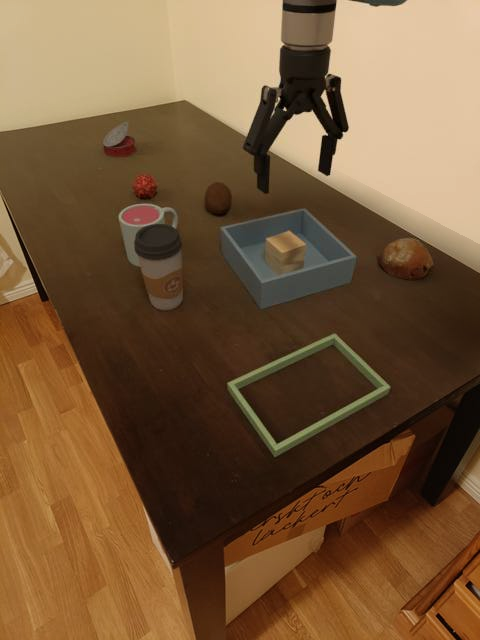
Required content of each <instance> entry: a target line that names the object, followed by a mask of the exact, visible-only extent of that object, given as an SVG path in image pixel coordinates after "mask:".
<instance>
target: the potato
mask: <svg viewBox="0 0 480 640" xmlns="http://www.w3.org/2000/svg"><path fill="white" fill-rule="evenodd" d="M232 200H233V195H232V191H231V189H230V188H229V186H228V185H226V184H225V183H223V182H218V181H215V182H213V183H211V184H209V185H208V186H207V188H206V190H205V193H204V203H205V206H206V208H207V210H208V211H209V212H211V213H212V214H214V215H223V214H224V213H226V212H227V211H228V209H230V206H231V204H232Z"/></svg>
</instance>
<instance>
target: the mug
mask: <svg viewBox="0 0 480 640" xmlns="http://www.w3.org/2000/svg"><path fill="white" fill-rule="evenodd" d="M167 213H168V214H170V215H171V216H172V225H171V226H172V227H174V228H175V229H176V230H177V228H178V224H179V216H178V214H177V212H176V210H175V209H174V208H172V207H169V206H164V207H160V206H159V205H157V204H154V203H153V204H152V203H136V204H132V205H129V206H126V207H125V208H124V209H122V210H121V211H120V212H119V214H118V221H119V225H120V230H121V234H122V239H123V244H124V248H125V254H126V257H127V261H128V262H129V263H130V264H131V265H133V266H135V267H139V268H141V266H140V263H139V259H138V256H137V253H136V252H135V249H134V247H135V246H134V241H135V236H136V233H137V232H138V231H139V230H140V229H141V228H143V227H145V226H149V225H153V224H166V218H165V214H167Z"/></svg>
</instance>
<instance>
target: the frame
mask: <svg viewBox="0 0 480 640" xmlns="http://www.w3.org/2000/svg"><path fill="white" fill-rule="evenodd" d="M330 346H334V348H336V349H337V350H338V352H340V354H342V355H343V356H344V357H345V359H347V361H349V362H350V363H351V364H352V365H353V366H354V367H355V368H356V370H358V371H359V372H360V373H361V374H362V375H363V376H364V377H365V378H366V379H367V380H368V381H369V382H370V383H371V384H372V385H373V386H374V387H375V390H373V391H372V392H369V393H368V394H366V395H364V396H362V397H360V398H358V399H357V400H355V401H353V402H352V403H350V404H348V405H346V406H344V407H341V408H340V409H338V410H337V411H335V412H333V413H331V414H329V415H328V416H326V417H324V418H322V419H321V420H319V421H317V422H315V423H313V424H311V425H309V426H308V427H306V428H304V429H302V430H300V431H298V432H296V433H295V434H293V435H291V436H289V437H287V438H286V439H284V440H282V441H280V442H278V443H277V442H276V440H275V439H274V438H273V436H272V435H271V434H270V432H269V431H268V430H267V428H266V427H265V425H264V424H263V423H262V421H261V419H260V418H259V417H258V415H257V414H256V412H255V411H254V410H253V408H252V407H251V406H250V404H249V402H247V400H246V398H245V397H244V396H243V394H242V393H241V392H240V389H242V388H244V387H246V386H248V385H250V384H253V383H254V382H256V381H258V380H261V379H263V378H265V377H267V376H269V375H272V374H273V373H275V372H278V371H280V370H282V369H285V368H286V367H288V366H290V365H293V364H294V363H295V364H296V362H299V361H301V360H303V359H305V358H307V357H309V356H311V355H314V354H316V353H318V352H321V351H322V350H324V349H327V348H329V347H330ZM391 389H392V388H391V386H390V385H389V384H388V382H386V381H385V380H384V379H383V378H382V377H381V376H380V375H379V374H378V373H377V372H376V371H375V370H374V369H372V367H371V366H370V365H369V364H367V362H366V361H365V360H363V358H362V357H360V356H359V355H358V354H357V353H356V352H355V351H354V350H353V349H352V348H351V347H350V346H349V345H348V344H346V342H345V341H343V339H341V338H340V337H339V335H337V333H335V332H334V333H332V334H329V335H327V336H326V337H323V338H321V339H319V340H317V341H314V342H313V343H310V344H309V345H306V346H304V347H302V348H299V349H298V350H296V351H293V352H291V353H289V354H287V355H285V356H282V357H281V358H278V359H276V360H274V361H271V362H269V363H268V364H265V365H263V366H261V367H259V368H257V369H254V370H252V371H250V372H248V373H246V374H243V375H241V376H239V377H237V378H235V379H233V380H231V381H229V382H227V391H228V393H229V394H230V395H231V397H232V399H233V400H234V401H235V403H236V404H237V405H238V407H239V408H240V410H241V411H242V413H243V414H244V416H245V417H246V418H247V420H248V421H249V424H251V425H252V427H253V429H254V430H255V432H256V433H257V434H258V436H259V437H260V439H261V440H262V441H263V443H264V444H265V446H266V447H267V449H268V450H269V451H270V453H271V454H272V456H273V457H274V458H276V457H279V456H280V455H282V454H284V453H285V452H287V451H289V450H290V449H292V448H294V447H296V446H298V445H299V444H301V443H303V442H305V441H307V440H308V439H310V438H312V437H314V436H316V435H317V434H319V433H321V432H323V431H324V430H326V429H328V428H330V427H332V426H333V425H335V424H337V423H339V422H341V421H342V420H344V419H346V418H347V417H350V416H352V415H353V414H355V413H357V412H358V411H360V410H363V409H364V408H365V407H368V406H369V405H371V404H373V403H375V402H377V401H378V400H380V399H382V398H383V397H385V396H387V395H389V393H390V391H391Z"/></svg>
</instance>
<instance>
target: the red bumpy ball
mask: <svg viewBox="0 0 480 640" xmlns="http://www.w3.org/2000/svg"><path fill="white" fill-rule="evenodd" d="M131 188H132V190H133V191H134V192H135V194H136V195H137V197H138V198H139V199H153V198H154V196H155V195H156V192H157V189H158V188H159V185H158V184H157V182H156V181H155V179H154V178H153V176H152V174H137V175H136V177H135V180H134V181H133V184H132V186H131Z"/></svg>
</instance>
